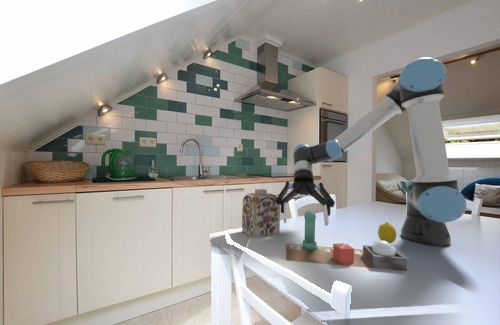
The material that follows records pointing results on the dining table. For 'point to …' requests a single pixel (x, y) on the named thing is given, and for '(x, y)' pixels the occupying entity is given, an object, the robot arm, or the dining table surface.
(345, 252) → the red cube
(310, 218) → the pawn
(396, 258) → the board
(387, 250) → the dome
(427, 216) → the robot arm
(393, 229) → the lemon
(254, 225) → the decorative jar
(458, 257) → the dining table surface
